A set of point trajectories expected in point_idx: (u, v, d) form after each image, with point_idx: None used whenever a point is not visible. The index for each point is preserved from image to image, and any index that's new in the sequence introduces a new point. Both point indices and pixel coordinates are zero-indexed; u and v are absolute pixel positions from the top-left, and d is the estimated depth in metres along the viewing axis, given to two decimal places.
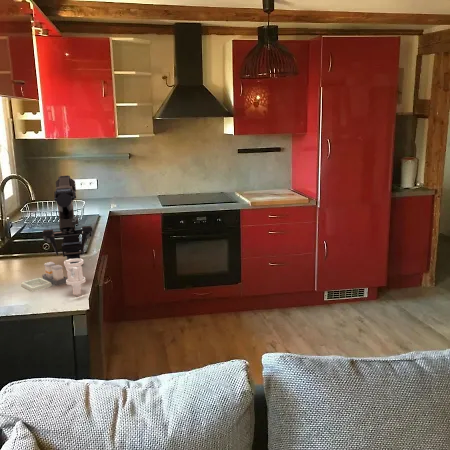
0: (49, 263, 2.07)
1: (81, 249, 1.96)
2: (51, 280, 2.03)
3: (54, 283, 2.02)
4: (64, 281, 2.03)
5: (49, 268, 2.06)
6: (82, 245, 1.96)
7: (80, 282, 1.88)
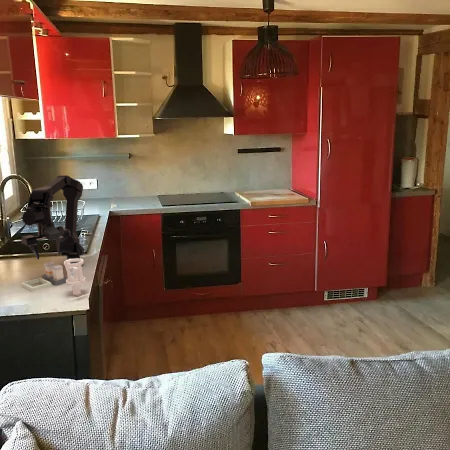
0: (49, 263, 2.07)
1: (59, 251, 2.09)
2: (51, 280, 2.03)
3: (54, 283, 2.02)
4: (64, 281, 2.03)
5: (49, 268, 2.06)
6: (60, 248, 2.09)
7: (80, 282, 1.88)
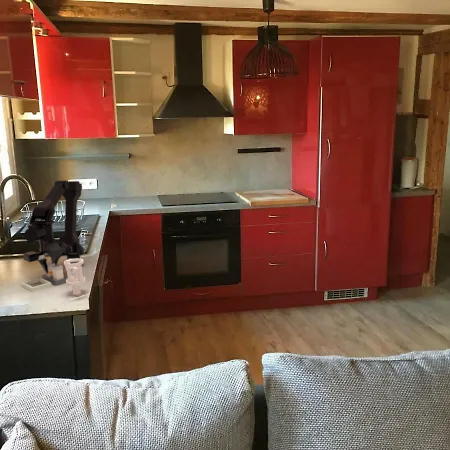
0: (49, 263, 2.07)
1: None
2: (51, 280, 2.03)
3: (54, 283, 2.02)
4: (64, 281, 2.03)
5: (49, 268, 2.06)
6: None
7: (80, 282, 1.88)
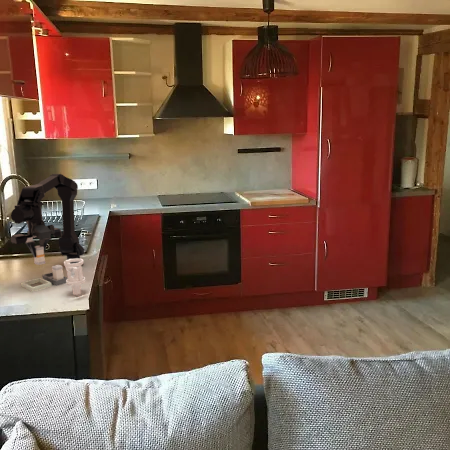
0: (38, 246, 2.01)
1: None
2: (51, 280, 2.03)
3: (54, 283, 2.02)
4: (64, 281, 2.03)
5: (37, 251, 1.99)
6: (44, 249, 2.02)
7: (80, 282, 1.88)
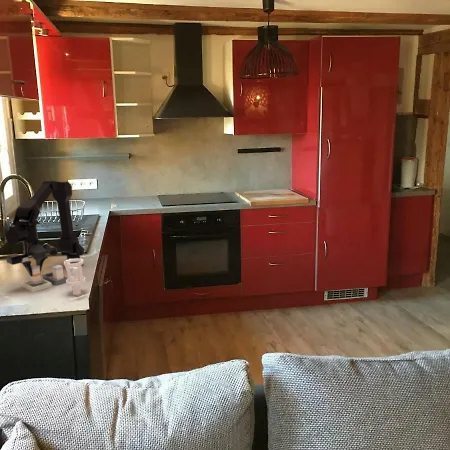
0: (34, 265, 1.99)
1: None
2: (51, 280, 2.03)
3: (54, 283, 2.02)
4: (64, 281, 2.03)
5: (33, 271, 1.98)
6: (40, 268, 2.00)
7: (80, 282, 1.88)
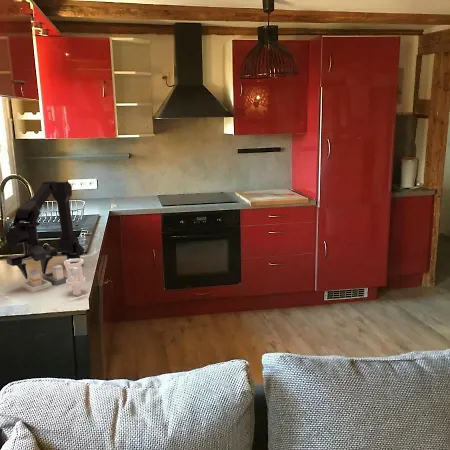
0: (34, 270, 2.00)
1: (44, 272, 2.02)
2: (51, 280, 2.03)
3: (54, 283, 2.02)
4: (64, 281, 2.03)
5: (34, 276, 1.98)
6: (45, 268, 2.02)
7: (80, 282, 1.88)
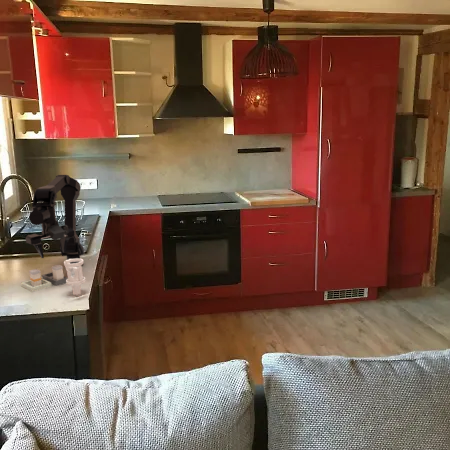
0: (34, 270, 2.00)
1: (64, 250, 2.08)
2: (51, 280, 2.03)
3: (54, 283, 2.02)
4: (64, 281, 2.03)
5: (34, 276, 1.98)
6: (65, 246, 2.08)
7: (80, 282, 1.88)
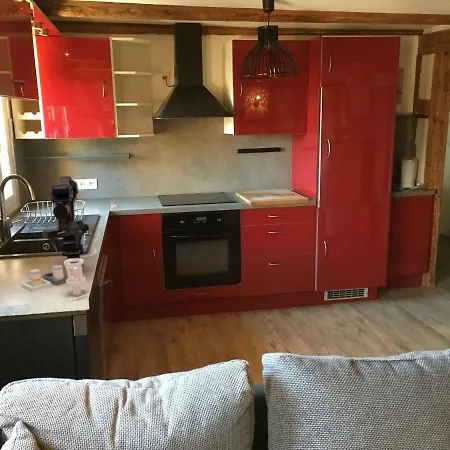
0: (34, 270, 2.00)
1: (78, 245, 2.13)
2: (51, 280, 2.03)
3: (54, 283, 2.02)
4: (64, 281, 2.03)
5: (34, 276, 1.98)
6: (79, 242, 2.13)
7: (80, 282, 1.88)
